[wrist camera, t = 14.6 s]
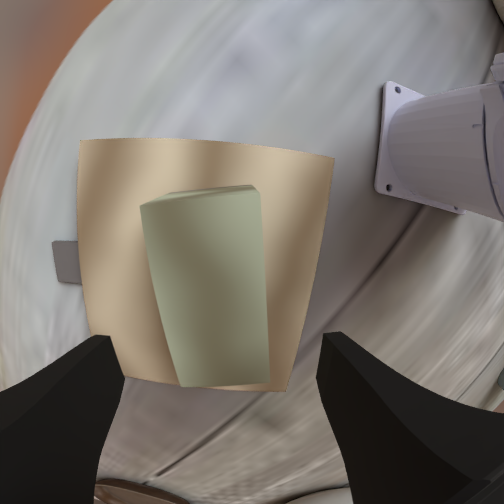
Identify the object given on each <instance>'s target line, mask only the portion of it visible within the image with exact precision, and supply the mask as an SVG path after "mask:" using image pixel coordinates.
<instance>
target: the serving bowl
mask: <svg viewBox="0 0 504 504" xmlns="http://www.w3.org/2000/svg"><path fill="white" fill-rule="evenodd" d="M286 504H353V501H352V495H351V490H350V488H339V489H330V490H324V491H319V492H315V493H312V494H308V495H305V496H303V497H300V498H298V499H295V500H293V501H290V502H288V503H286Z"/></svg>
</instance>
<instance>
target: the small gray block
mask: <svg viewBox="0 0 504 504" xmlns="http://www.w3.org/2000/svg"><path fill="white" fill-rule="evenodd" d="M52 248H53V255H54V261H55V267H56V273H57V278H58V281H60V282H70V283H80V284H82V279H81V270H80V260H79V248H78V241H54V242H52Z"/></svg>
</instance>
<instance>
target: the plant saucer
mask: <svg viewBox="0 0 504 504" xmlns="http://www.w3.org/2000/svg"><path fill="white" fill-rule="evenodd" d="M94 496H95V497H97V498H98V499H99V500H101V501H103V502H104V503H106V504H190V503H188V502H187V501H186V500H184V499H182V498H181V497H179V496H176V495H174V494H172V493H169V492H166V491H163V490H160V489H157V488H154V487H150V486H147V485H143V484H139V483H135V482H130V481H125V480H119V479H106V480H101V481H98V482H96V483H95V491H94Z"/></svg>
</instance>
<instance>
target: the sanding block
mask: <svg viewBox="0 0 504 504" xmlns="http://www.w3.org/2000/svg"><path fill="white" fill-rule="evenodd" d="M140 213H141V220H142V227H143V233H144V239H145V245H146V251H147V256H148V262H149V267H150V272H151V277H152V282H153V286H154V291H155V295H156V300H157V304H158V308H159V312H160V316H161V320H162V324H163V328H164V332H165V336H166V339H167V343H168V346H169V350H170V353H171V357H172V360H173V364H174V367H175V370H176V373H177V376H178V379H179V383H180V386H181V387H217V386H236V385H249V384H260V383H270V366H269V344H268V323H267V303H266V284H265V266H264V248H263V231H262V214H261V198H260V193H259V192H258V191H257V190H256V188H255V187H254V186H253V185H240V186H228V187H217V188H207V189H197V190H188V191H180V192H171V193H168V194H165V195H163V196H161V197H158V198H156V199H154V200H151V201H149V202H147V203H144V204H142V205H140Z"/></svg>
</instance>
